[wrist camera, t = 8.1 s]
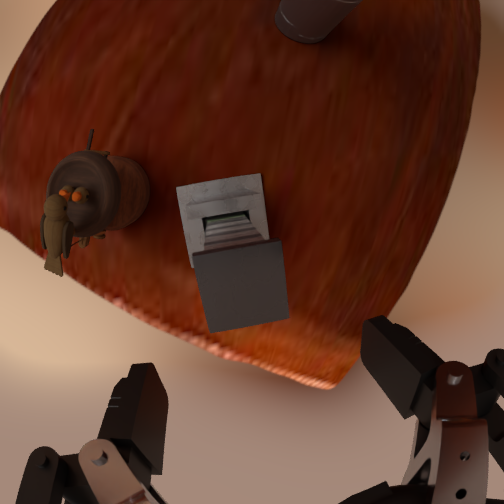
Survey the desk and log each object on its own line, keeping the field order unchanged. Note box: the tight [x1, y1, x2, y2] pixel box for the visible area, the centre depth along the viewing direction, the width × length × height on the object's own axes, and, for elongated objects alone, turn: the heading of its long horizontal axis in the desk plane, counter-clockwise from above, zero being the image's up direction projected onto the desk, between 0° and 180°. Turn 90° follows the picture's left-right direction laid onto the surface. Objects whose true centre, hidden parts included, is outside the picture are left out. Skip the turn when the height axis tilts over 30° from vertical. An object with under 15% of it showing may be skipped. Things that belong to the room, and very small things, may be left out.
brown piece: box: [40, 129, 150, 277], centre depth 26 cm, size 15×11×20 cm
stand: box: [176, 173, 269, 268], centre depth 33 cm, size 12×12×12 cm
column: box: [192, 211, 289, 333], centre depth 24 cm, size 5×5×19 cm
